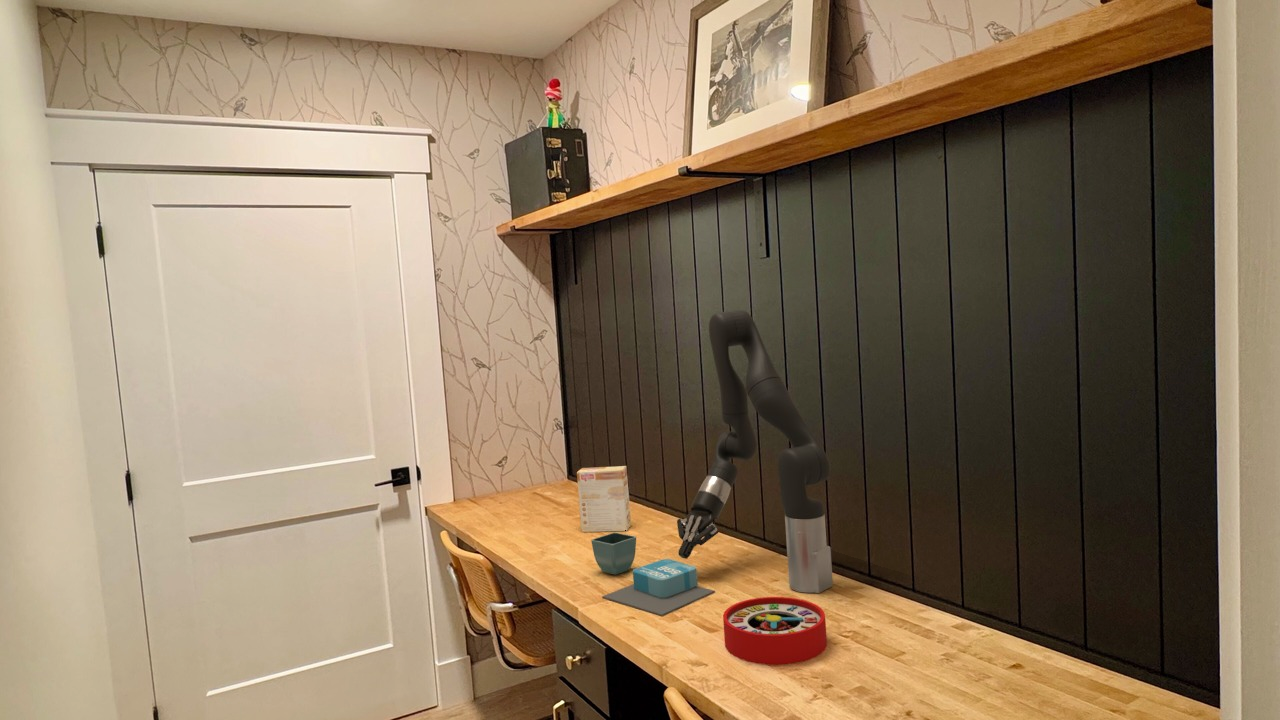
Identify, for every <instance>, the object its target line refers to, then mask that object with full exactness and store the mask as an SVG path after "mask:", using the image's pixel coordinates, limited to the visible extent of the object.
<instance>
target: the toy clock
mask: <svg viewBox="0 0 1280 720" xmlns="http://www.w3.org/2000/svg"><path fill="white" fill-rule="evenodd" d="M722 620H723V621H722V623H723V636H724V637H723V638H724V647H725V648H726V650H727V651H728V654H730V655H732V656H734V657H735V658H737V659H738V660H739V659H740V660H742V661H746V662H747V663H753V664H759V665H769V666H771V665H772V666H774V665H775V666H781V665H783V666H784V665H792V664H797V663H803V662H806V661H809V660H811V659H814V658H816V657H818V656H819V655H821V654H822V653H823V652H824V651H825V650H826V648H827V647H828V642H827V641H828V639H827V624H826V614H825V611H824V610H823V609H822V607H820V606H819V605H818V604H815V603H813V602H812V601H809V600H806V599H805V600H804V599H800V598H794V597H786V596H766V597H765V596H764V597H763V596H761V597H756V598H755V597H753V598H749V599H745V600H742V601H739V602H736V603H734V604H732V605H730V606H729V607H727V608H726V609H725V611H724V612H723V614H722Z"/></svg>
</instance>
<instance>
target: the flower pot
mask: <svg viewBox="0 0 1280 720" xmlns="http://www.w3.org/2000/svg"><path fill="white" fill-rule="evenodd" d="M590 541H591V546H592V552H593V556H594V559H595V562H596V564H597V565H598V567H599V569H600V570H601V571H602V572H603V573H606V574H607V573H608V574H610V575H615V576H617V575H620V574H622V573H624V572H625V573H626V572H627V571H630V568H631V567H632V566H633V563H634V560H635V557H636V550H637V549H636V548H637V536H635V535H630V534H623V533H620V532H616V531H613V532H610V533H608V534H605V535H602V536H598V537H595V538H593V539H592V538H591V540H590Z"/></svg>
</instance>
